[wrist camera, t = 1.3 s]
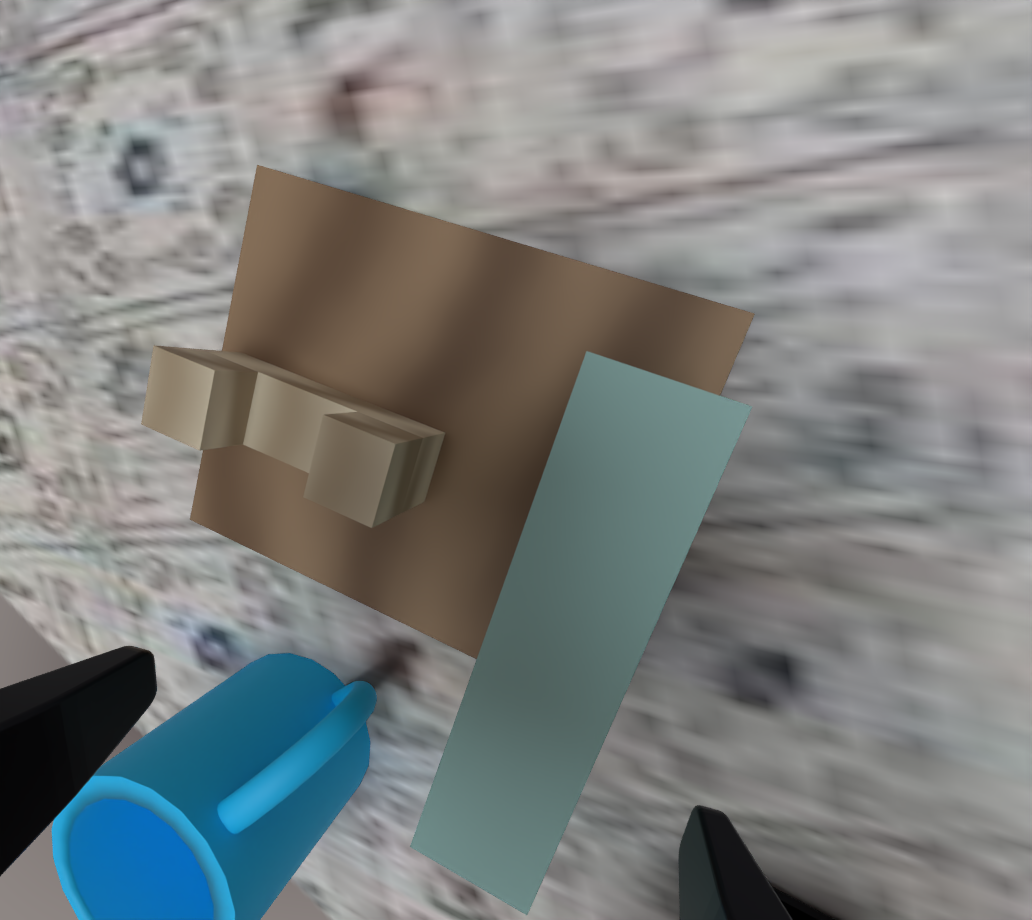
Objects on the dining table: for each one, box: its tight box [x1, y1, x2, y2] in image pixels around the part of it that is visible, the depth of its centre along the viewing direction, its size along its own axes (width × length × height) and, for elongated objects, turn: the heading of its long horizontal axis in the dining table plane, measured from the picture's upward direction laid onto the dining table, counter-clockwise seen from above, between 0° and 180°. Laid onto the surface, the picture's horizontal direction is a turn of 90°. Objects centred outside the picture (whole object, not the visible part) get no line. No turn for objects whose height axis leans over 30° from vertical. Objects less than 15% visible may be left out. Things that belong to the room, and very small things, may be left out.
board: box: [190, 165, 754, 659], centre depth 21 cm, size 20×16×1 cm
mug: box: [52, 653, 377, 920], centre depth 21 cm, size 12×8×8 cm
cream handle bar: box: [141, 346, 445, 528], centre depth 19 cm, size 10×3×4 cm, turn 71°
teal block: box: [410, 351, 752, 915], centre depth 14 cm, size 3×12×9 cm, turn 161°
